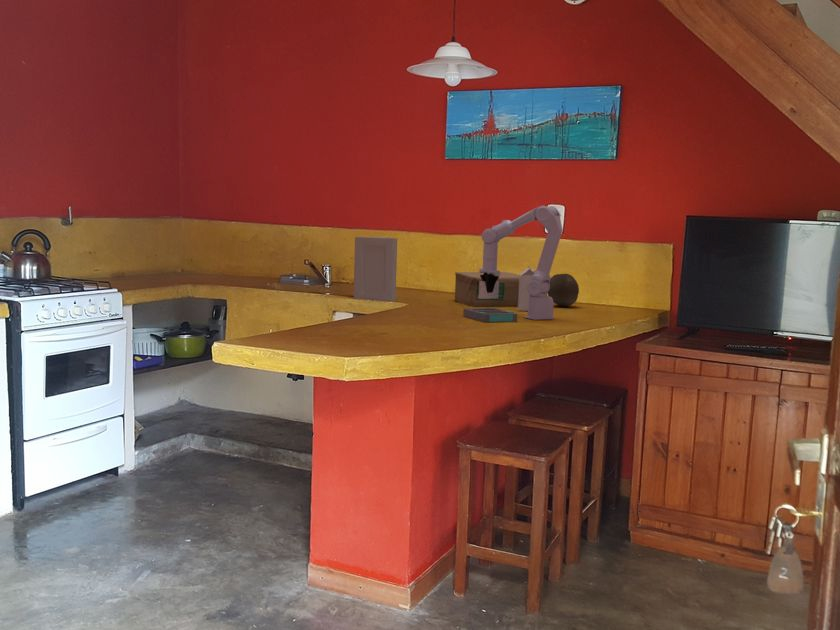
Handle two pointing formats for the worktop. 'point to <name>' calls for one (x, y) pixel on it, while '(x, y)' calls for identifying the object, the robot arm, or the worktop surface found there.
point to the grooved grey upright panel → (375, 268)
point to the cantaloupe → (563, 289)
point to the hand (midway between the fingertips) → (488, 292)
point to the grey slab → (484, 294)
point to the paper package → (470, 290)
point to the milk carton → (524, 289)
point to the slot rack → (490, 315)
